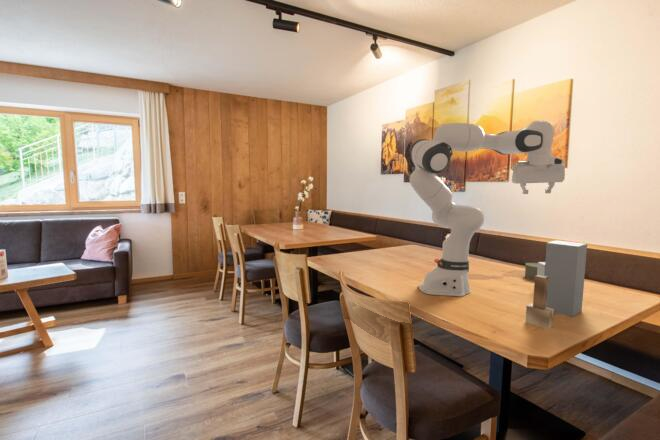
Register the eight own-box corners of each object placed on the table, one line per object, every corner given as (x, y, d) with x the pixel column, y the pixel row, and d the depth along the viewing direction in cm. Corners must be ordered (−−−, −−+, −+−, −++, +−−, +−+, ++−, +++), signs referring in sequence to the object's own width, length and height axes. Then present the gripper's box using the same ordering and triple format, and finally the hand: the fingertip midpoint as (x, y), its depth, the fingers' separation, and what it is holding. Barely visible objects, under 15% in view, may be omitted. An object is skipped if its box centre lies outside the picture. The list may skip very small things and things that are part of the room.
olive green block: (531, 273, 182) (532, 261, 182) (555, 279, 172) (556, 265, 171) (519, 276, 176) (520, 264, 175) (544, 282, 166) (545, 268, 165)
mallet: (551, 279, 109) (556, 277, 111) (528, 274, 114) (533, 272, 117) (548, 329, 111) (552, 326, 113) (525, 322, 116) (530, 319, 119)
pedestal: (572, 317, 121) (578, 246, 118) (541, 309, 129) (546, 242, 126) (581, 311, 127) (587, 243, 125) (551, 303, 135) (556, 240, 132)
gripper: (517, 161, 137) (515, 195, 140) (568, 159, 137) (565, 193, 139) (509, 161, 144) (508, 193, 146) (558, 160, 143) (556, 192, 145)
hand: (536, 193), depth 142 cm, fingers open, 8 cm apart
